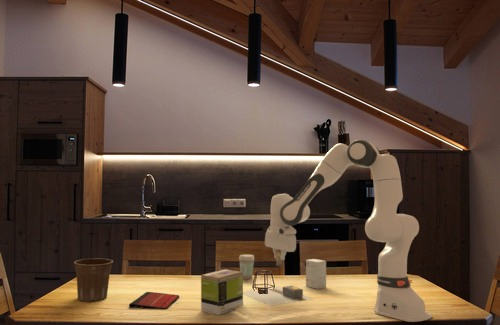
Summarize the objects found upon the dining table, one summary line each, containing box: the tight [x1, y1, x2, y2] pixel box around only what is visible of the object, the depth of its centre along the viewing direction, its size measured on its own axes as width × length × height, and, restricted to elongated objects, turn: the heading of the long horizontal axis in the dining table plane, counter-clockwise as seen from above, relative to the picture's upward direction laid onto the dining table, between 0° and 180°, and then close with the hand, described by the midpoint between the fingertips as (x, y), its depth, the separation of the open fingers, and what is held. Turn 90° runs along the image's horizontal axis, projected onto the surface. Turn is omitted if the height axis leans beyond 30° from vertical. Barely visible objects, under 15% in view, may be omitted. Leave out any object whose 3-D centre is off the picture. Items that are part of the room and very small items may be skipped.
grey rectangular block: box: [282, 285, 304, 299], centre depth 202 cm, size 8×5×4 cm, turn 32°
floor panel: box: [243, 286, 313, 307], centre depth 203 cm, size 26×22×2 cm
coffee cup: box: [238, 253, 255, 280], centre depth 246 cm, size 9×8×12 cm
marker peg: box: [275, 249, 284, 267], centre depth 211 cm, size 3×3×7 cm
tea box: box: [200, 268, 244, 316], centre depth 186 cm, size 15×10×15 cm, turn 141°
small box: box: [305, 258, 327, 290], centre depth 227 cm, size 8×6×13 cm
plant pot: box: [73, 258, 114, 302], centre depth 201 cm, size 16×16×16 cm
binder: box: [128, 291, 180, 310], centre depth 196 cm, size 16×2×21 cm
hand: (279, 259), depth 211 cm, fingers closed on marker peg, 3 cm apart
